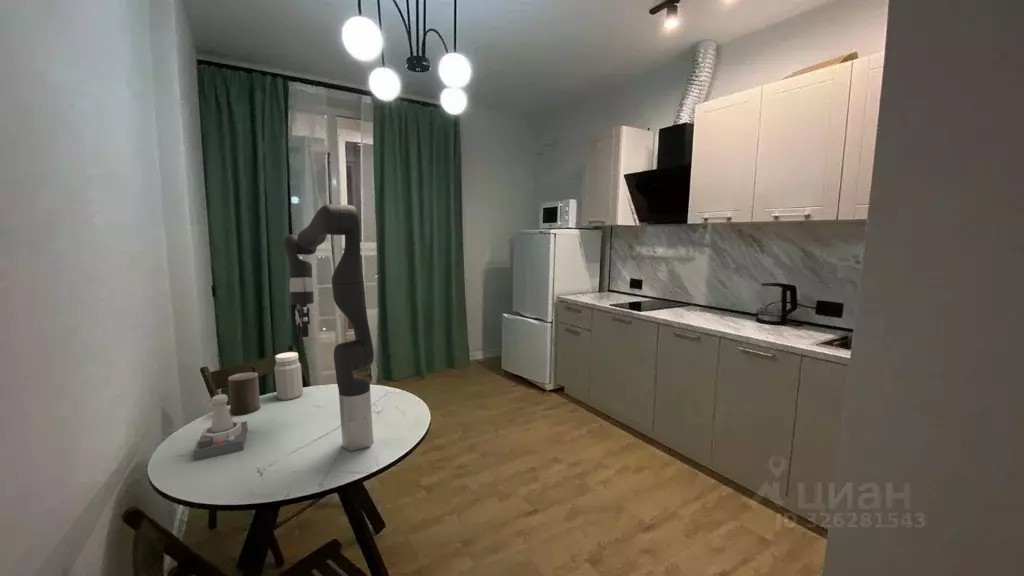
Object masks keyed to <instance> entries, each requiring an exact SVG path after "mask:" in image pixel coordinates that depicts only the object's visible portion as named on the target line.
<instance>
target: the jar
mask: <svg viewBox="0 0 1024 576" xmlns="http://www.w3.org/2000/svg"><path fill="white" fill-rule="evenodd" d="M274 358H275V361H276V362H275V365H274V368H273V369H274V379H275V380H274V381H275V387H276V388H275V391H276V397H277V398H278V399H279V400H281V401H289V400H290V401H291V400H295V399H297V398H299V397H300V396H302V394H303V393H304V390H303V385H304V384H303V377H302V376H303V374H302V364H301V363H300V360H299V353H298V352H297V351H296V352H295V351H288V352H282V353H278V354H276V355H274Z"/></svg>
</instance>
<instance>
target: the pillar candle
mask: <svg viewBox="0 0 1024 576" xmlns="http://www.w3.org/2000/svg"><path fill="white" fill-rule="evenodd" d="M227 383H228V385H227V387H228V395H229V397H228V401H229V409H230V410H229V412H230V415H233V416H246V415H248V414H249V415H250V414H253V413H255V412H257V411H259V410H260V409H261V398H260V386H259V374H258V372H241V373H236V374H233V375H230V376H228V378H227Z"/></svg>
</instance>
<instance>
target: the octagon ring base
mask: <svg viewBox="0 0 1024 576" xmlns="http://www.w3.org/2000/svg"><path fill="white" fill-rule="evenodd" d="M232 422H233V428H232V429H230V430H228V431H226V432H220V433H215V434H213V433H212V430H211V428H212V424H211V425H208V426H207V427H205V428H203V429H202V431H201V435H200V437H199V439H198V442H197V443H196V447H195V448H194V451H193V454H194V460H195V461H199V459H200V460H203V459H207V458H208V459H210V458H212V457H218V456H221V455H222V456H223V455H226V454H230V453H236V452H240V451H244V448H245V444H246V439H247V434H248V431H249V430H248V428H249V427H248V421H240V420H234V419H233V420H232Z"/></svg>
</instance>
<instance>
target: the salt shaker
mask: <svg viewBox="0 0 1024 576" xmlns="http://www.w3.org/2000/svg"><path fill="white" fill-rule="evenodd" d="M210 401H211V404H212V405H213V413H212V421H211V425H212V428H211V430H212V433H213V434H215V433H220V432H226V431H228V430H230V429H232V428H233V422H232V417H231V412H230V410H229V408H228V404H227V403H228V401H229V397H228V395H227V394H225V393H223V394H222V393H221V394H216V395H214V396H213V397H212V398H211V399H210Z"/></svg>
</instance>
